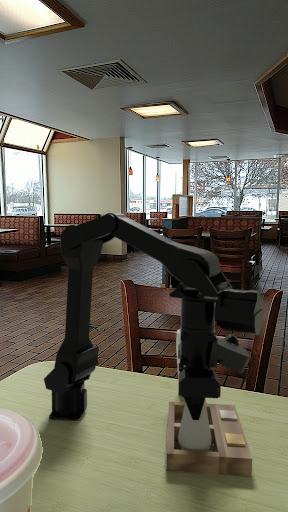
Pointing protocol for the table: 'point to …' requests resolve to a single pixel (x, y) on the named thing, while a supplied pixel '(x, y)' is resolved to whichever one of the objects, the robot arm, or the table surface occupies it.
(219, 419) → the socket block
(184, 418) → the salt shaker
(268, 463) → the table surface
